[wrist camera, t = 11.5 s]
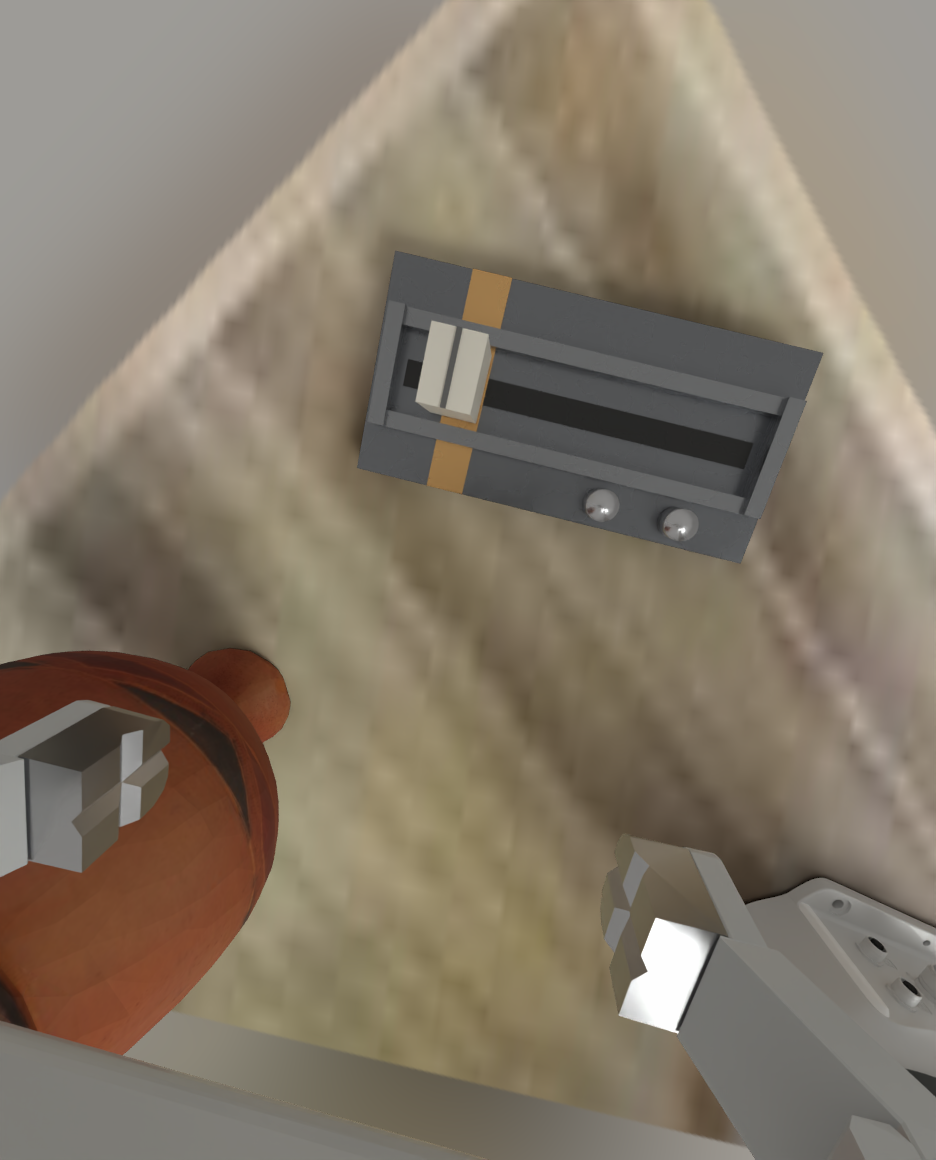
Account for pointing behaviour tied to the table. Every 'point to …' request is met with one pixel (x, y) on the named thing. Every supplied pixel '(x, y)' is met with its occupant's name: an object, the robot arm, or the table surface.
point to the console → (589, 409)
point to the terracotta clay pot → (144, 847)
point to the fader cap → (454, 371)
